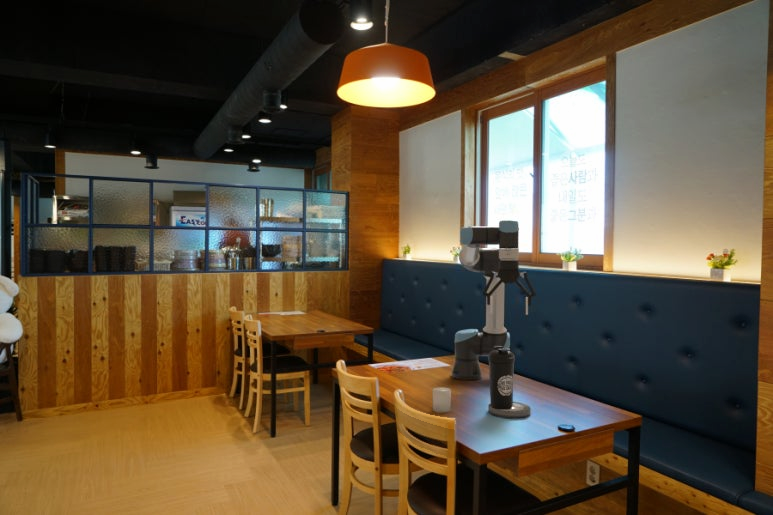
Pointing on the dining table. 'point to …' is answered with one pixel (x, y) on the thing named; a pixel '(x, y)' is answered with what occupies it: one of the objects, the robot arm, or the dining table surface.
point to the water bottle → (501, 377)
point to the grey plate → (511, 411)
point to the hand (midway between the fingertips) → (508, 313)
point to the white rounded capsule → (441, 399)
